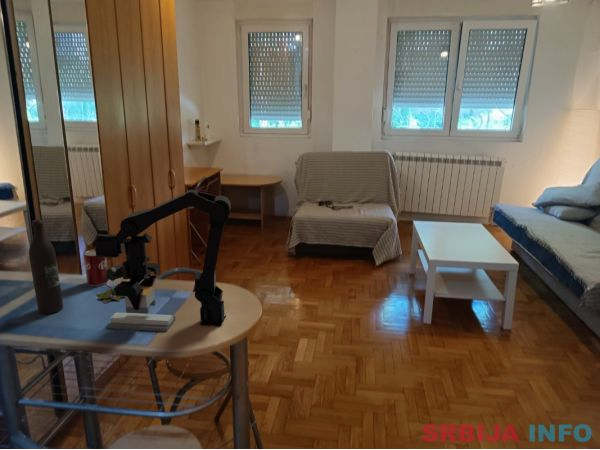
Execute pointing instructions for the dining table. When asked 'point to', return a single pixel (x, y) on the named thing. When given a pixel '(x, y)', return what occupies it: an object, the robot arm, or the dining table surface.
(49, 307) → the wine bottle
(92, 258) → the soda can
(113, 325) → the rail
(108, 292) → the lily flower
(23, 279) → the dining table surface
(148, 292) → the block
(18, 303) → the dining table surface
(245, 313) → the dining table surface
